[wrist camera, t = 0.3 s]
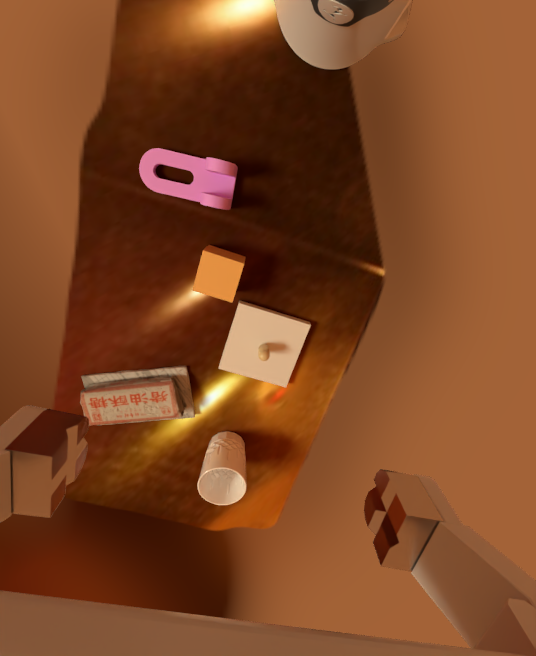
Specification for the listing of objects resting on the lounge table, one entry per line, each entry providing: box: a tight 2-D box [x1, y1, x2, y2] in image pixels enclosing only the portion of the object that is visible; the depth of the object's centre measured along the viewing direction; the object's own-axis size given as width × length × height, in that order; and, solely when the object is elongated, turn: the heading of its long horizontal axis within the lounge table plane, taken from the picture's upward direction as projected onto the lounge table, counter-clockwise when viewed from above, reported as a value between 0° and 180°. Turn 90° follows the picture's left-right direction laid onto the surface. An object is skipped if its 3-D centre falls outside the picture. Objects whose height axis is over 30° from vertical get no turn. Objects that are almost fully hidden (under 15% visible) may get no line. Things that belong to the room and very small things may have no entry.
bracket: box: [139, 148, 238, 210], centre depth 46 cm, size 13×6×7 cm, turn 78°
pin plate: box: [218, 301, 311, 387], centre depth 56 cm, size 12×12×6 cm
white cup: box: [198, 431, 246, 505], centre depth 61 cm, size 8×8×10 cm
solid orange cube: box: [193, 245, 246, 302], centre depth 51 cm, size 6×6×6 cm
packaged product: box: [80, 366, 195, 426], centre depth 59 cm, size 18×5×10 cm
